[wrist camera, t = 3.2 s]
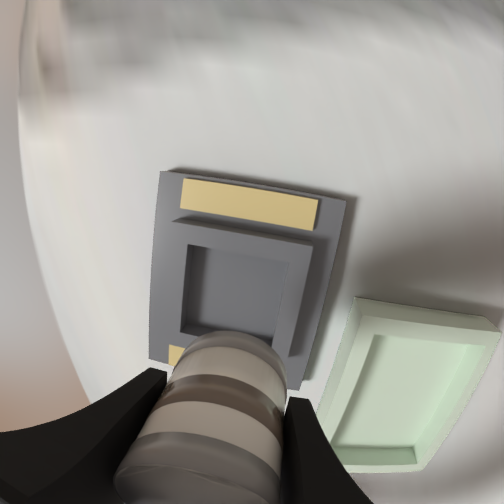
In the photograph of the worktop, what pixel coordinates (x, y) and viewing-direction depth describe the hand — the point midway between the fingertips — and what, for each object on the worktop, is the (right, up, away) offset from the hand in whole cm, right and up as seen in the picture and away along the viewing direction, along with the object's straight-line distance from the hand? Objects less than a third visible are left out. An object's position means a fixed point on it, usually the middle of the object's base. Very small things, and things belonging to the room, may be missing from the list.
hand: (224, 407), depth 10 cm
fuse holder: (0, +3, +9) cm, 10 cm away
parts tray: (+11, -5, +10) cm, 15 cm away
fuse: (0, +1, +2) cm, 2 cm away
